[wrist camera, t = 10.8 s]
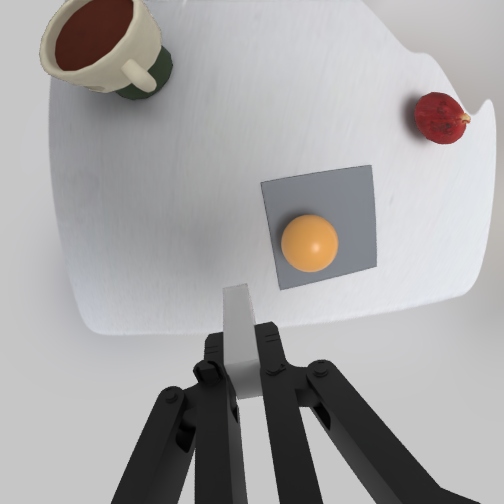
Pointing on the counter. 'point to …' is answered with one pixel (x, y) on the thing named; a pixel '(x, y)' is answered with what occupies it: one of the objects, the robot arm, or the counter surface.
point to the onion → (440, 118)
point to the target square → (334, 211)
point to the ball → (309, 243)
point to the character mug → (106, 47)
